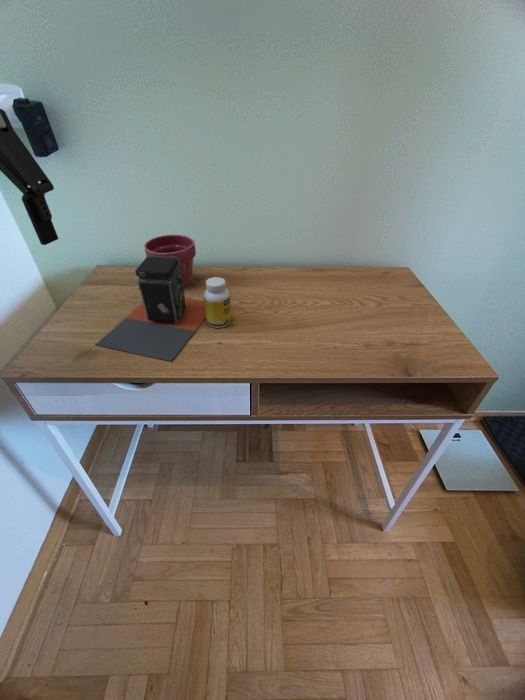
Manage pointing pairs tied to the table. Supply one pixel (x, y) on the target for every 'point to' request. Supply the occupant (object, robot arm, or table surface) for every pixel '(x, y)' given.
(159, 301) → the camera
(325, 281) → the table surface
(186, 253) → the flower pot
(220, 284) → the pill bottle
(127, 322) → the desk mat
